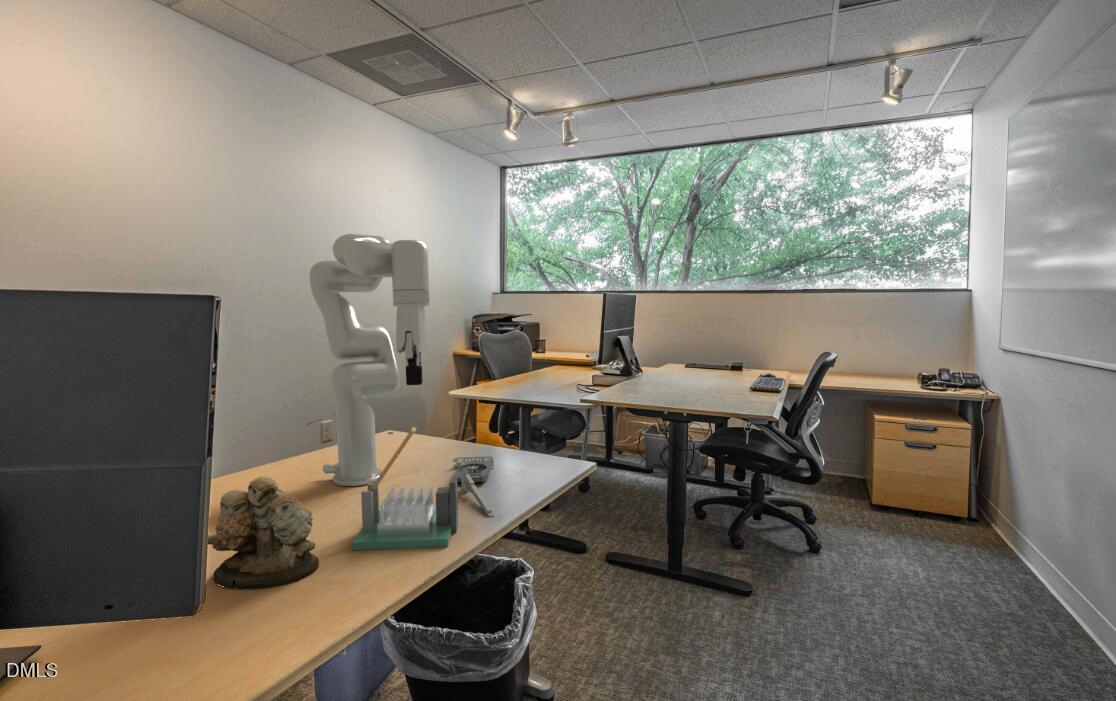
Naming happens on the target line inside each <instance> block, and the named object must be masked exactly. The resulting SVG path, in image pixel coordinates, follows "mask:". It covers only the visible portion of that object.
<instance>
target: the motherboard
mask: <svg viewBox="0 0 1116 701" xmlns="http://www.w3.org/2000/svg"><path fill="white" fill-rule="evenodd" d="M374 483H375V482H373V483H368V484H367V490H362V491H361V492H360V494H361V517H362V518H361V519H362V522H361V523H362V528H361V529H360V531H359V532H358V533H357V535H356V537H355V538H354V540H353V541H352V543H351V544H352V546H351V548H352V551H369V550H370V551H371V550H391V549H392V550H394V549H416V548H437V547H439V548H440V547H441V548H442V547H448V546H449V544H450V539H451V537H452V529H451V526H450V524H449V526H437V523H436V516H435V518H434V521H433V524H432V527H431V530H430V532H429V533H419V534H395V535H378V530H377V525H378V524H379V522H380V520H381V512H380V500H379V499H380V497H379V495H380V494H379V493H380V492H379V491H380V489H379V485H378V486H377V488H376V489H375V492H374V494H373V491H369V489H370V488H371V487H372V486H373V485H374Z"/></svg>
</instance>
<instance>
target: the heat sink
mask: <svg viewBox="0 0 1116 701" xmlns="http://www.w3.org/2000/svg"><path fill="white" fill-rule="evenodd" d="M395 492H396V491H395V487H391V489H390V490H389V492H388V493H387V495H386V496H385V498H384V499H383V501H382V502H381V503H380V504H379V510H380V512H381V520H380V522H379V524H378V525H377V530H378V535H395V534H419V533H429V532H430V530H431V527H432V524H433V521H434V518H435V516H436V504H434V503H433V502H434V501H433V499H434V498H433V486H429V487H428V490H427V491H426V494H425V495H424V487H423V486H420V487H419V489H418V490H417V492H416V493H415V491H414V487H413V486H411V487H410V488H409V489H408V492H407V493H406V496H405V487H401V488H400V489H399V490H398V492H397V494H396V493H395ZM414 493H415V494H416V495H415V494H414ZM414 495H415V496H414Z"/></svg>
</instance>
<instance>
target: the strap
mask: <svg viewBox="0 0 1116 701" xmlns="http://www.w3.org/2000/svg"><path fill="white" fill-rule="evenodd" d="M417 429H418V428H417V427H415V426H413V427H411V429H410V430H409V431H408V433H407V435H406V437H404V439H403V441H402V442H401V443H400V445H399V447H398V448H397V449H396V451H395V452H394V454H393V455H392V456H391V458H390V460H389V461H388V462H387V464H386V466H385V467H384V468H383V470H381V471H382V473H381V474H380V476H379V477H378V479H377V480H376V482H373V483H374V485H373V486H372V487H371V488H370V489H369V491H373V494H374V492H375V489H376V488H377V486H378V487H379V485H380V483H381V482H382V480H383V479H384V478H385V476H386V474H387V473H388V471H389V470H390V469H391V467H392V466H393V464H394V462H395V461H396V460H397V459H398V457H399V456H400V454H401V453H402V451H403V450H404V448H405V447H406V445H407V444H408V442H409V441H410V439H411V438H412V437H413V435H414V433H415V432H417Z"/></svg>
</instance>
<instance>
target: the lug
mask: <svg viewBox="0 0 1116 701" xmlns="http://www.w3.org/2000/svg"><path fill="white" fill-rule="evenodd" d="M458 496H459V495H458V482H457V477H453V476H451V478H450V480H449V486H444V487H443V486H441V487H440V486H439V487H437V489H436V492H435V505H436V523H437V526H449V524H450V526H451V529H452V533H457V531H458V528H459V506H458V505H459V501H458V499H459V497H458ZM452 533H451V534H452Z"/></svg>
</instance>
